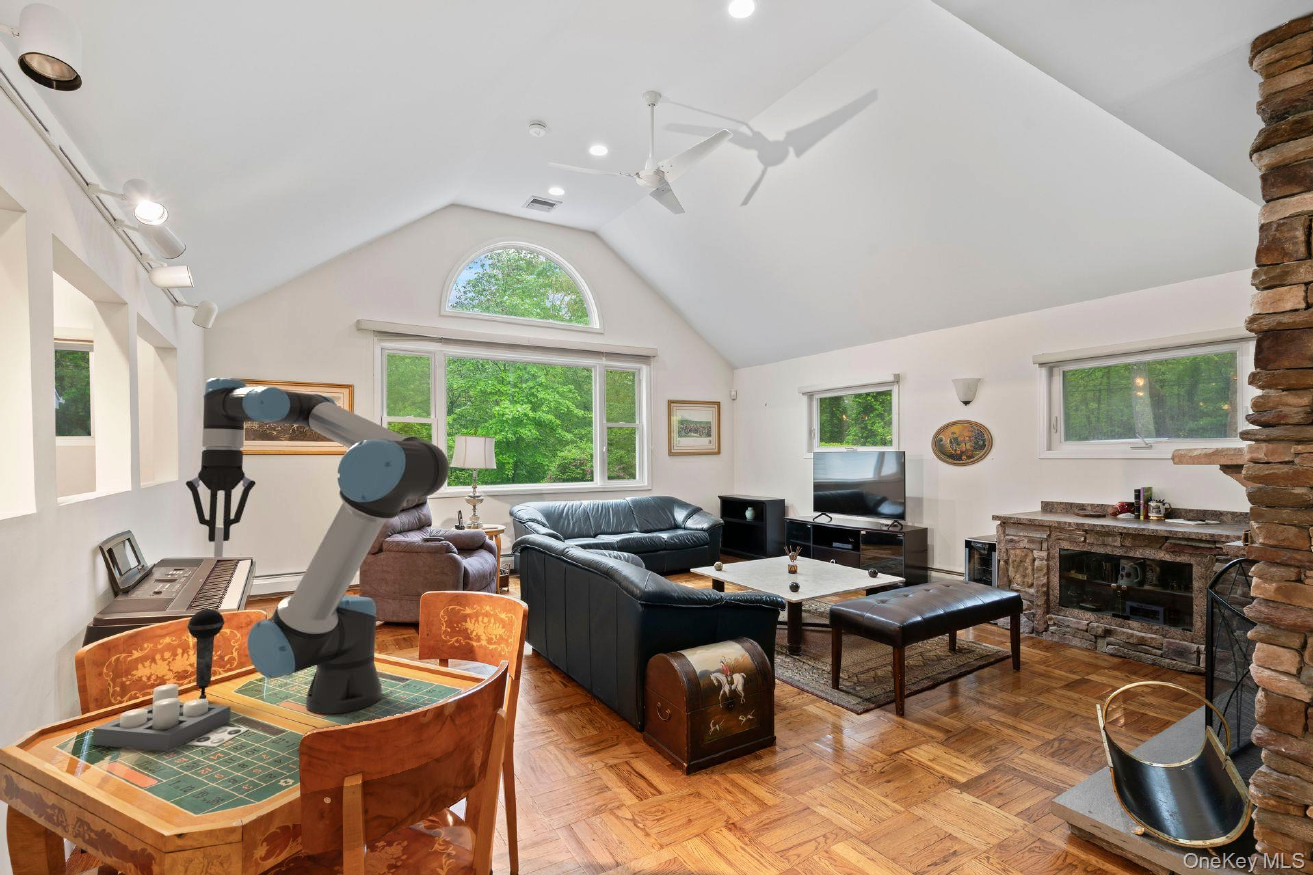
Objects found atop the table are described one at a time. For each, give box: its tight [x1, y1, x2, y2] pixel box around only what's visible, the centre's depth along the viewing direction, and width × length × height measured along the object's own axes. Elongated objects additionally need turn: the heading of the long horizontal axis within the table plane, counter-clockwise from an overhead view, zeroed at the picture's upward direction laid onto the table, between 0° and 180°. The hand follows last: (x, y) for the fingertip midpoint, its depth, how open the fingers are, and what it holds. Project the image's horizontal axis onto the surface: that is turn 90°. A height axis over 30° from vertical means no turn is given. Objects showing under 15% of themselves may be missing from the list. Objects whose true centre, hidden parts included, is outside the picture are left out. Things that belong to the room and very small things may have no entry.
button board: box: [92, 701, 232, 752], centre depth 123 cm, size 16×14×3 cm
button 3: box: [152, 697, 181, 730], centre depth 120 cm, size 4×4×4 cm
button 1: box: [119, 708, 147, 728], centre depth 121 cm, size 4×4×4 cm
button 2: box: [152, 683, 179, 713], centre depth 127 cm, size 4×4×4 cm
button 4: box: [183, 698, 209, 717], centre depth 126 cm, size 4×4×4 cm
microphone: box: [186, 608, 226, 699], centre depth 141 cm, size 7×7×20 cm
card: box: [186, 725, 250, 748], centre depth 122 cm, size 6×8×1 cm
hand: (218, 556), depth 138 cm, fingers closed
